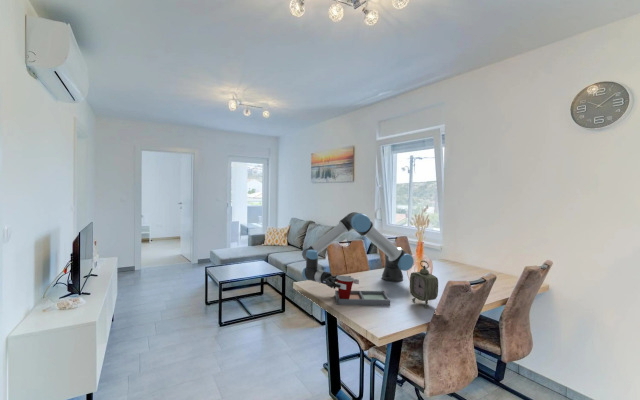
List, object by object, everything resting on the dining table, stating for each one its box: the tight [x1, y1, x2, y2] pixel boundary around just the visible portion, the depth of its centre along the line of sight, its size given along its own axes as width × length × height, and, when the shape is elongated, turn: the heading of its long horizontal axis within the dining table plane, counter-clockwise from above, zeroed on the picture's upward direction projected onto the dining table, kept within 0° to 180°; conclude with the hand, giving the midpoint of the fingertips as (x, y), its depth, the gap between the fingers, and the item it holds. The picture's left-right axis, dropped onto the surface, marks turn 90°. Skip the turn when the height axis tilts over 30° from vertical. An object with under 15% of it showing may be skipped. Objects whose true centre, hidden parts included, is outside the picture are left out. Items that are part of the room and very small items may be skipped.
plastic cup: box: [336, 275, 355, 299], centre depth 178 cm, size 11×11×12 cm
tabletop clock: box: [409, 260, 439, 309], centre depth 174 cm, size 14×9×25 cm, turn 21°
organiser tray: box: [334, 289, 391, 306], centre depth 179 cm, size 30×16×3 cm, turn 91°
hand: (352, 284), depth 177 cm, fingers open, 13 cm apart
